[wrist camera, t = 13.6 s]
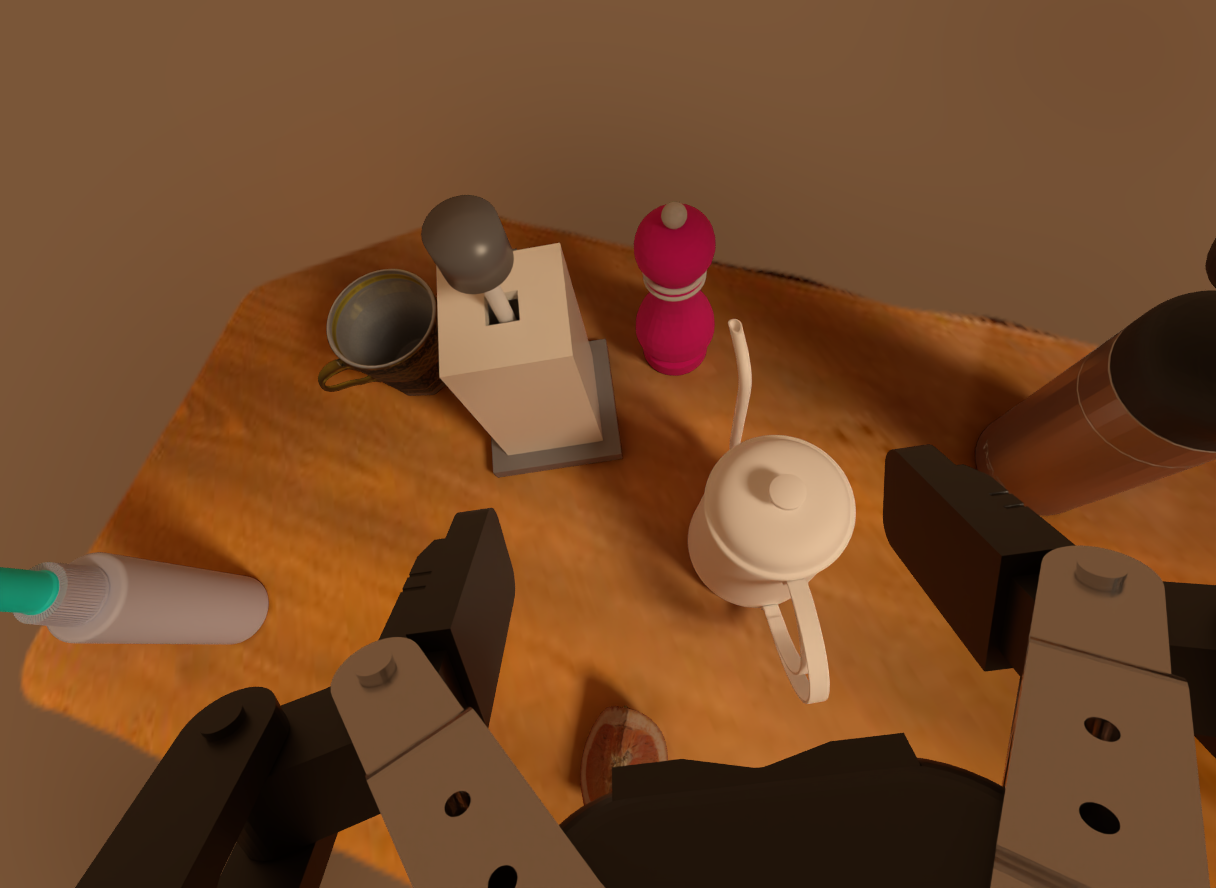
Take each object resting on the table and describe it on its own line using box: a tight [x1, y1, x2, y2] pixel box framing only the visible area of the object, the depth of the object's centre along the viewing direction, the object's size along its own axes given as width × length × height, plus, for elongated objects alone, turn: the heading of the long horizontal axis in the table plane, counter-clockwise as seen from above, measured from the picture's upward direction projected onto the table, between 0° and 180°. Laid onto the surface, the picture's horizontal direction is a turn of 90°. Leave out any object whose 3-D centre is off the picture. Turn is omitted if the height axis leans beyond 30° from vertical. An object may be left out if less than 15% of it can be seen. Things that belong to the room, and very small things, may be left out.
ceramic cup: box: [318, 269, 446, 396], centre depth 56 cm, size 13×10×10 cm
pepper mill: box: [634, 202, 715, 375], centre depth 49 cm, size 7×7×20 cm
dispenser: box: [436, 243, 623, 477], centre depth 49 cm, size 12×13×18 cm
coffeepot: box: [688, 319, 856, 704], centre depth 43 cm, size 11×25×19 cm, turn 9°
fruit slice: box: [580, 705, 668, 805], centre depth 45 cm, size 8×7×5 cm
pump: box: [421, 195, 517, 324], centre depth 42 cm, size 4×4×21 cm
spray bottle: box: [0, 552, 269, 644], centre depth 45 cm, size 6×6×22 cm
